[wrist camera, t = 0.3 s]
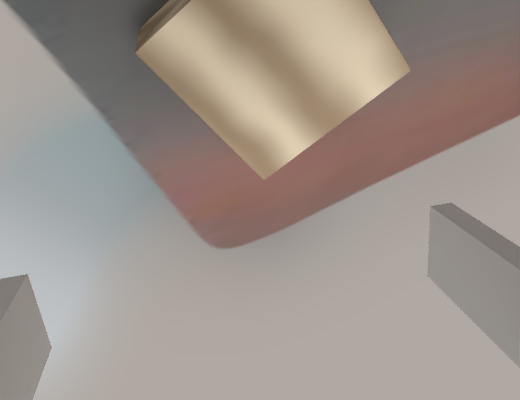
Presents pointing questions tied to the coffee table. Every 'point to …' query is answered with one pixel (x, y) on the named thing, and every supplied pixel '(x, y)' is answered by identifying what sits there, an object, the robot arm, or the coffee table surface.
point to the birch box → (271, 68)
